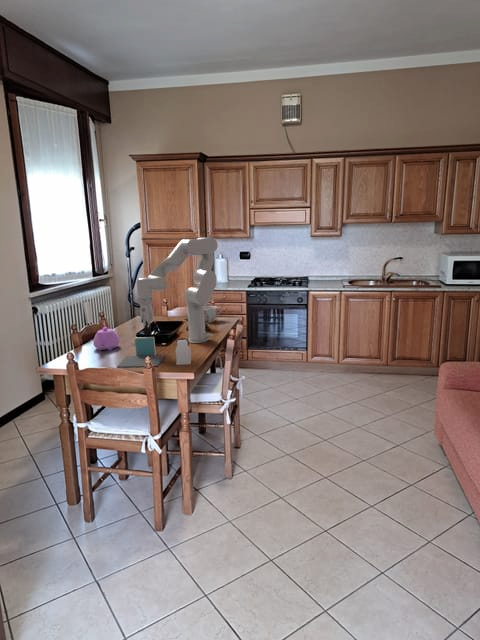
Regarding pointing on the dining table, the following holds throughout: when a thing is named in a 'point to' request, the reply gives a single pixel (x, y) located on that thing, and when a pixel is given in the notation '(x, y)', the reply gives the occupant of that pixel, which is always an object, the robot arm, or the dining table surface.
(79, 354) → the dining table surface
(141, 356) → the mat
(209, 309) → the teacup
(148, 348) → the tile
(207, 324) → the owl figurine
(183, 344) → the medicine bottle
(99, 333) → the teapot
